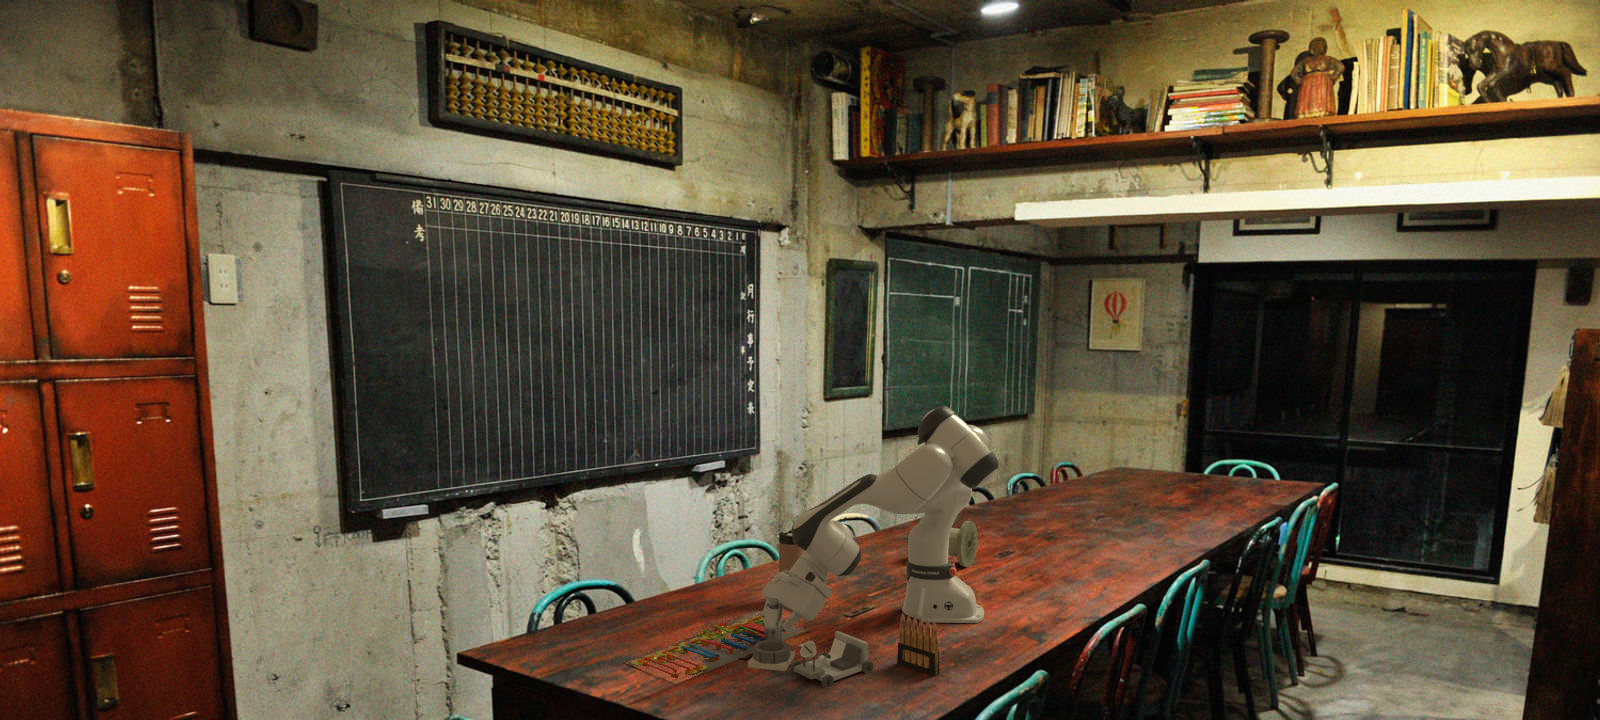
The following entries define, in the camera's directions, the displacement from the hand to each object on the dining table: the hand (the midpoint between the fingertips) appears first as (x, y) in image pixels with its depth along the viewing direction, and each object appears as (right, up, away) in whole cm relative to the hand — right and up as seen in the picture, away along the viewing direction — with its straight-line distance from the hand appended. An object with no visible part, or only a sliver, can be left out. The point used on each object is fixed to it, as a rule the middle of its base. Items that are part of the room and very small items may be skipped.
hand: (773, 623), depth 207 cm
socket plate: (0, -6, -9) cm, 11 cm away
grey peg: (0, -6, +1) cm, 6 cm away
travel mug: (+4, -5, +37) cm, 37 cm away
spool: (+56, -4, +79) cm, 97 cm away
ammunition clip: (+34, -7, -12) cm, 37 cm away
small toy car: (+13, -7, -15) cm, 21 cm away
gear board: (-13, -7, +2) cm, 15 cm away
